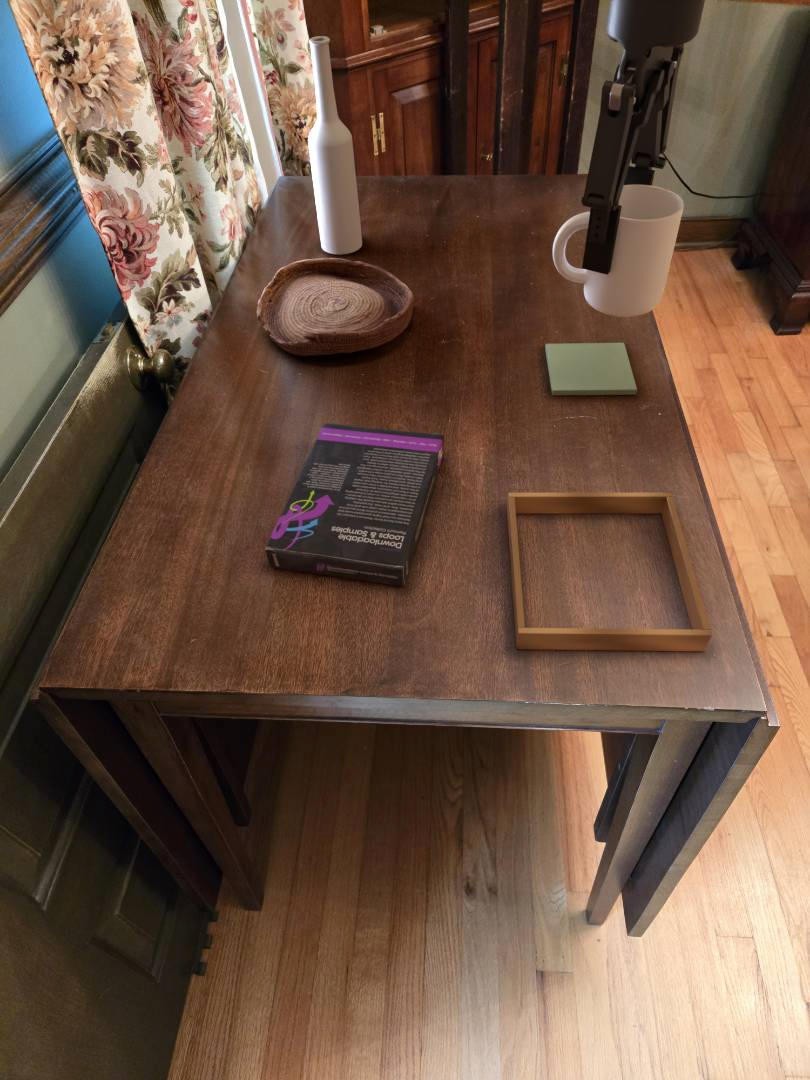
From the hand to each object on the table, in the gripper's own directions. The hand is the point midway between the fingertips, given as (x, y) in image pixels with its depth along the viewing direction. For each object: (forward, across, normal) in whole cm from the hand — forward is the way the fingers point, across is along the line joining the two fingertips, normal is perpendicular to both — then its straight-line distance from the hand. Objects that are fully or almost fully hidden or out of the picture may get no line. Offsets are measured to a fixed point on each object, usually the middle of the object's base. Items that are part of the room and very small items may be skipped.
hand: (612, 250), depth 75 cm
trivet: (+18, -4, -2) cm, 18 cm away
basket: (+18, +2, -36) cm, 40 cm away
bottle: (+18, -17, -49) cm, 55 cm away
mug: (+5, +1, 0) cm, 5 cm away
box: (+18, +31, -12) cm, 37 cm away
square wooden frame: (+18, +27, +12) cm, 34 cm away
